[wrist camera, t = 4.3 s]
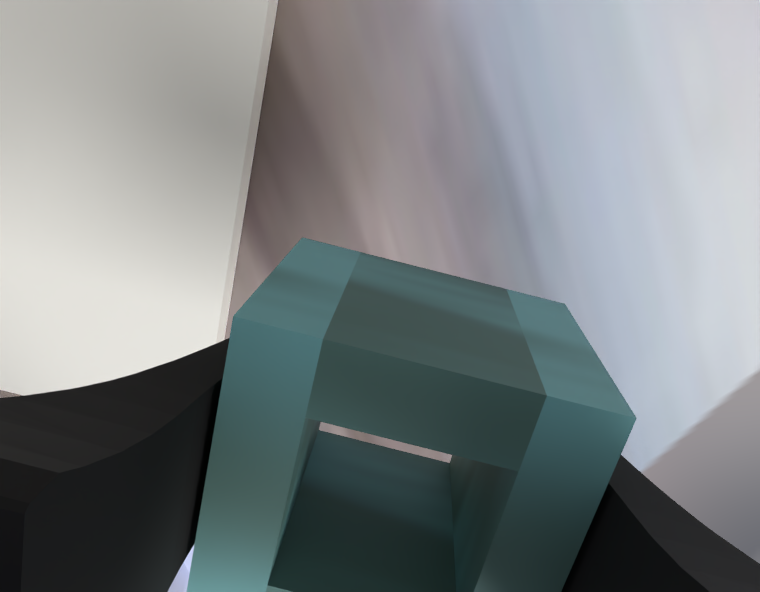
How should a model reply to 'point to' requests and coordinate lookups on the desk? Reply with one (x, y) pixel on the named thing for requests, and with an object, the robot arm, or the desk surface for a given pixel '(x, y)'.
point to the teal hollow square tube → (402, 435)
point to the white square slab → (122, 180)
